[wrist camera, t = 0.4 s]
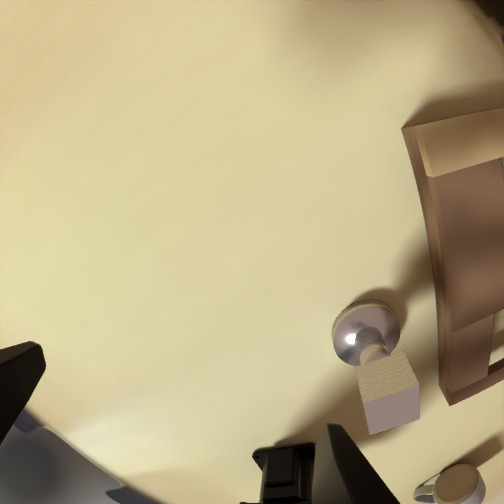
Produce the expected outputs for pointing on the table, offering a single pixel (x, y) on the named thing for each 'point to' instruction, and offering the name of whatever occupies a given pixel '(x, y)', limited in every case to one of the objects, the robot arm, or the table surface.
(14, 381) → the robot arm
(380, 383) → the headed peg
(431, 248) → the keyhole board
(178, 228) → the table surface
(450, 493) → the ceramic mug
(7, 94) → the table surface
